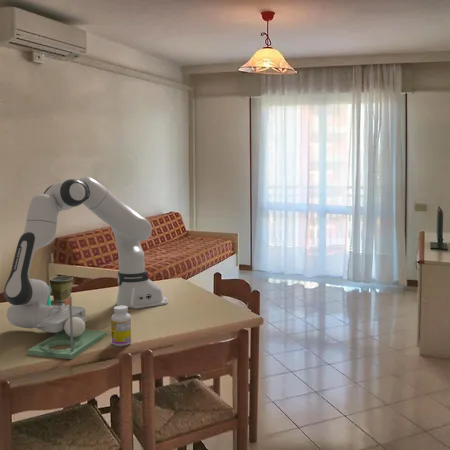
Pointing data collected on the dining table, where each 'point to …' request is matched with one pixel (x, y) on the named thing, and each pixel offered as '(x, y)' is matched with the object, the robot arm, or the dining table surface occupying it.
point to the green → (67, 341)
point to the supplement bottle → (121, 326)
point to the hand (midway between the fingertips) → (83, 321)
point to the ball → (75, 326)
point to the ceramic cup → (61, 287)
